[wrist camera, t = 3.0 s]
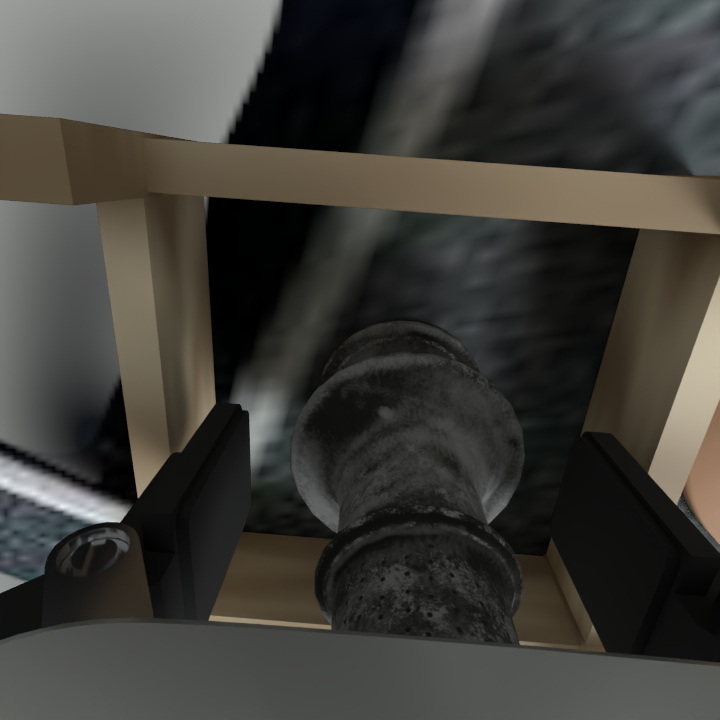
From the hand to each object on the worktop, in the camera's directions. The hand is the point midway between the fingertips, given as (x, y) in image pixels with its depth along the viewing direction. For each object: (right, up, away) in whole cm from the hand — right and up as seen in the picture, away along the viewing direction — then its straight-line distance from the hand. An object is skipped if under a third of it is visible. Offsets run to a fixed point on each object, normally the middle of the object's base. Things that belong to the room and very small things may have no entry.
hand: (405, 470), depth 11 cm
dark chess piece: (0, +2, +4) cm, 4 cm away
